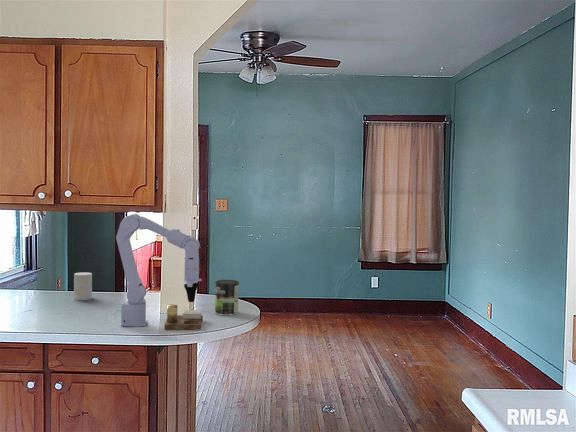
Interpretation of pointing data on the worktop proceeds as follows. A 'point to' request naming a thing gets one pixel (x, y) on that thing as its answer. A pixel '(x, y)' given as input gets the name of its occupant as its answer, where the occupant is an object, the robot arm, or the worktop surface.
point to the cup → (83, 286)
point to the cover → (192, 314)
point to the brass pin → (172, 313)
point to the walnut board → (184, 324)
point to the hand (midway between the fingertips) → (191, 301)
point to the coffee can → (226, 297)
